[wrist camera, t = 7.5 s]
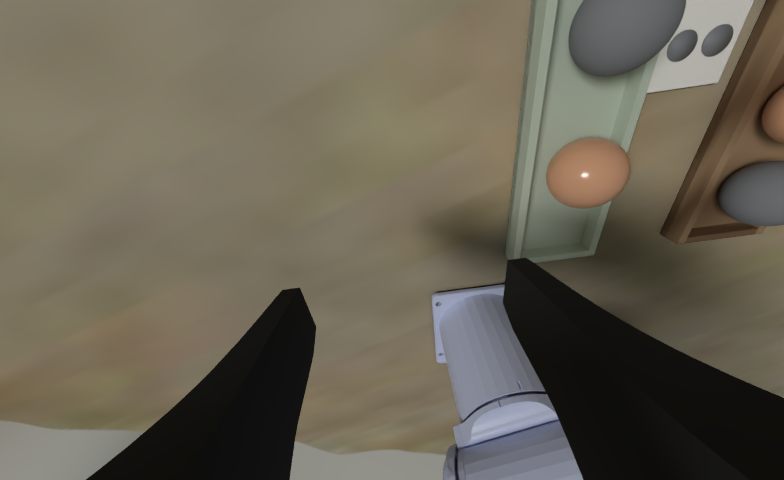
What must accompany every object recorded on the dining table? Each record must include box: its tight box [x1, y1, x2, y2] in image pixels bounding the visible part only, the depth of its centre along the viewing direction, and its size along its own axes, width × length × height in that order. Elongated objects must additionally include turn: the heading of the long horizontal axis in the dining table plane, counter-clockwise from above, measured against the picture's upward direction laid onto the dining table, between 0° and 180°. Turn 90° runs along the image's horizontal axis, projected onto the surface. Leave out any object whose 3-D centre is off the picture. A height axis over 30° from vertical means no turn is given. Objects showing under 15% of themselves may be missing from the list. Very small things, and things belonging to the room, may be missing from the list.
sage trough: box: [505, 0, 754, 263], centre depth 17 cm, size 18×11×2 cm, turn 7°
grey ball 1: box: [569, 0, 686, 77], centre depth 13 cm, size 4×4×4 cm
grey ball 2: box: [719, 161, 784, 226], centre depth 18 cm, size 4×4×4 cm
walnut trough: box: [660, 0, 784, 244], centre depth 16 cm, size 18×6×2 cm, turn 7°
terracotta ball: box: [546, 137, 631, 209], centre depth 16 cm, size 4×4×4 cm
